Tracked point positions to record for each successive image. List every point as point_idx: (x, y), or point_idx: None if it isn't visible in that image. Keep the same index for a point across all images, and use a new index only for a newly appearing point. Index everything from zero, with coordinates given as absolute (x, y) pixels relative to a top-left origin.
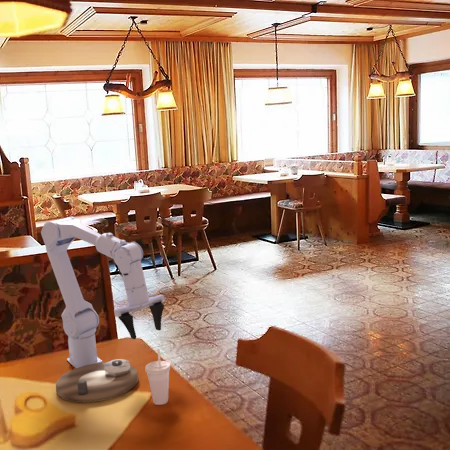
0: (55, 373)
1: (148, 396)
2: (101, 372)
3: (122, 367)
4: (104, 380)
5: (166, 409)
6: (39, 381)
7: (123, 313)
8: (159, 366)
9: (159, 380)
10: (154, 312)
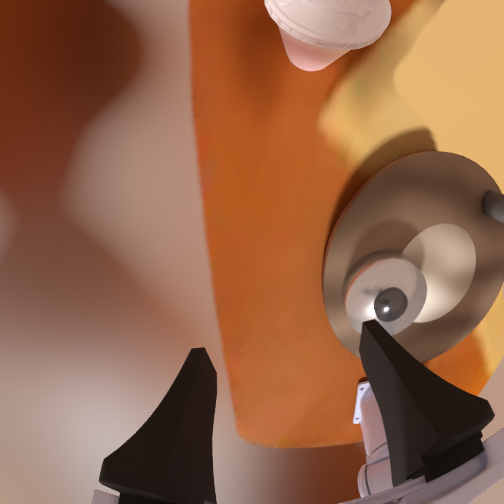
0: (448, 366)
1: (335, 102)
2: None
3: (388, 265)
4: (431, 250)
5: None
6: (481, 342)
7: (466, 462)
8: None
9: None
10: (195, 460)
